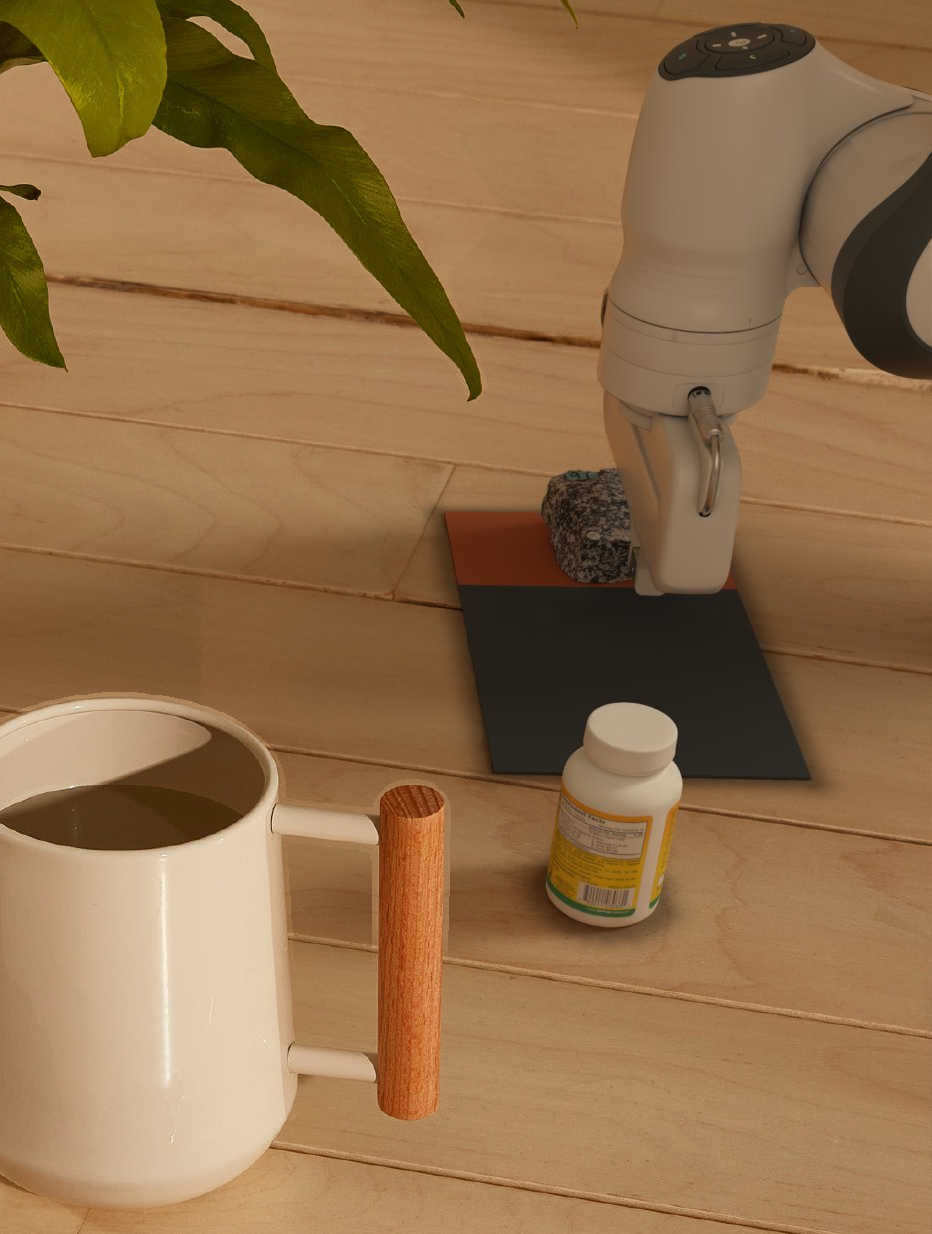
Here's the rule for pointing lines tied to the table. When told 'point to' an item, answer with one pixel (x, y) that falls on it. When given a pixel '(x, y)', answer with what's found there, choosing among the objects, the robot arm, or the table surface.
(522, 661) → the mat
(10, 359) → the table surface
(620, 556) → the rock
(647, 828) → the supplement bottle
